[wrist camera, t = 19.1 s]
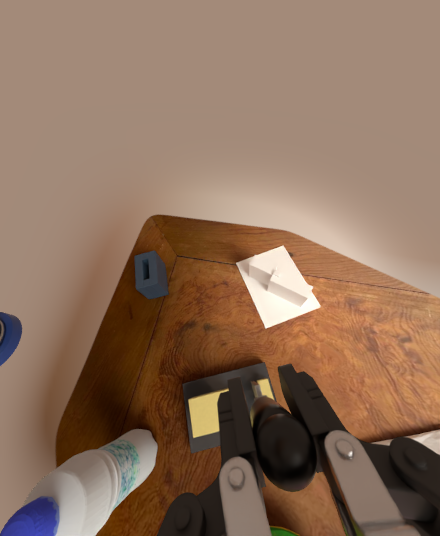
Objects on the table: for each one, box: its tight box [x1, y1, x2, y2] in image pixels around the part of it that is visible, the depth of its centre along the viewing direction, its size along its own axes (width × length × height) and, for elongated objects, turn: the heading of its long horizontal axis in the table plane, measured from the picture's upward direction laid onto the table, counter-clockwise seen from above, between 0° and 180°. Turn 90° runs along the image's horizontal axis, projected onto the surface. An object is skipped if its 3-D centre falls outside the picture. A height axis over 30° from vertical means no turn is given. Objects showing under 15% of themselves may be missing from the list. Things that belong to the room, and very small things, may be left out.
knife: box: [250, 381, 317, 492], centre depth 15 cm, size 2×4×19 cm, turn 13°
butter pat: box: [257, 378, 274, 400], centre depth 30 cm, size 2×4×4 cm, turn 13°
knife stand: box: [135, 251, 169, 299], centre depth 42 cm, size 4×7×6 cm, turn 13°
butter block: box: [188, 388, 229, 438], centre depth 30 cm, size 6×4×4 cm
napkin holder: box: [236, 246, 321, 328], centre depth 39 cm, size 15×11×6 cm
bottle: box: [0, 429, 158, 536], centre depth 23 cm, size 7×7×20 cm
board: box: [183, 362, 277, 453], centre depth 33 cm, size 14×9×2 cm, turn 103°
